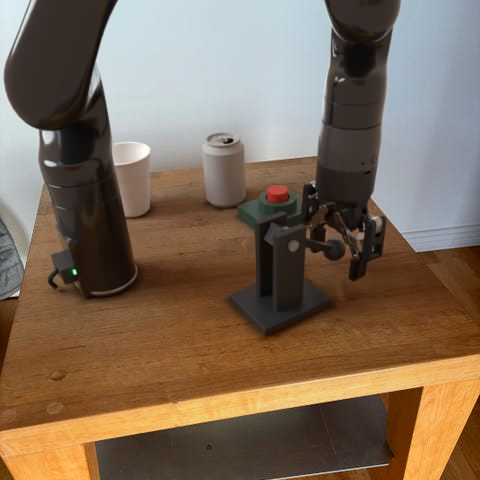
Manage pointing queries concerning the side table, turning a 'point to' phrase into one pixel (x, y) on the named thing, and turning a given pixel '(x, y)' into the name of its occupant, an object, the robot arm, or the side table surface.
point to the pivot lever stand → (279, 280)
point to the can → (224, 169)
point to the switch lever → (312, 243)
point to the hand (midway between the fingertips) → (335, 264)
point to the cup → (133, 176)
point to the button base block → (272, 209)
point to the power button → (277, 194)
